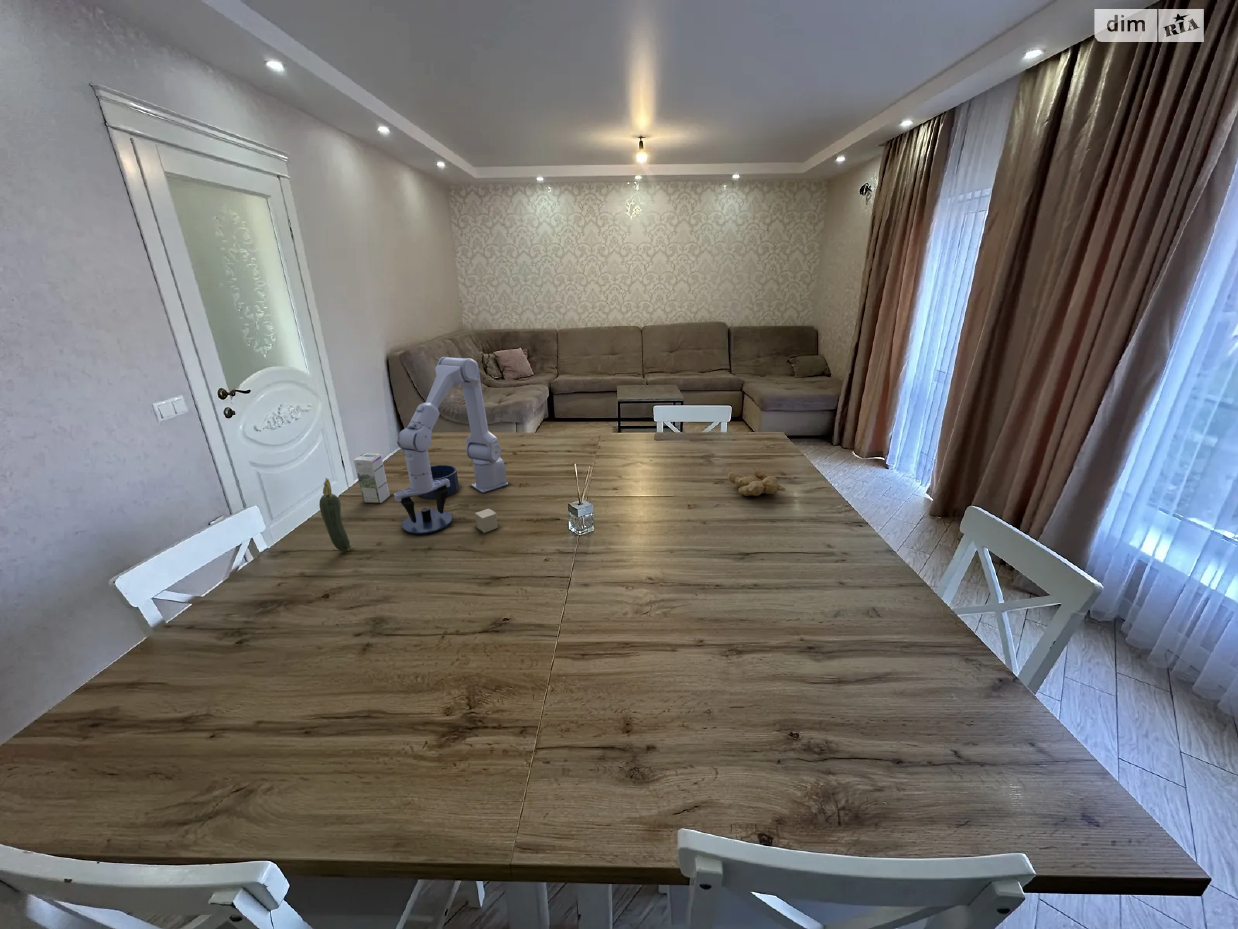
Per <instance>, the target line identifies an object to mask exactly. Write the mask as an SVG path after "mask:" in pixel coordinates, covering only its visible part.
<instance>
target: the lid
mask: <svg viewBox="0 0 1238 929" xmlns="http://www.w3.org/2000/svg"><path fill="white" fill-rule="evenodd" d="M415 516H416V523H413V522H412V521H411V519H410V516H407V517H406V518H405V519H404V520H403V521H402V524H401V528H402V530H403V531H404V532H406V533H408V534H414V535H424V534H431V533H436V532H438V531H440V530H443V529H444V528H446V527H448V526H449V525H450V524H452V521H453V515H452V514H451V513H450V512H449V511H446V510H444V511H443V513H442V514H441V513H439V512H438V509H431V507H423V508H421V509H420V511H419V512H415Z"/></svg>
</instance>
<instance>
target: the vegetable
mask: <svg viewBox="0 0 1238 929" xmlns="http://www.w3.org/2000/svg"><path fill="white" fill-rule="evenodd" d="M324 479H325V481H324V482H323V488H322V494H323V495H322V496H321V497H320V499H319V510H320V515H321V518H322V519H323V523H324V526H325V527H326V531H327V533H328V536H329V538H330V540H331V543H332V544H333V546H334V547H335V548H336V549H337V550H338V551H340V552H343V553H345V552H347V551H350V549H351V542H350V538H349V537H348V536H349V535H348V534H347V531H346V529H345V526H344V524H343V519H342V509H341V508H342V506H341V500H340V499H339V497H338V496H337V495H336V494H335V493H332V485H331V482H330V479H329V478H327V477H325V478H324Z"/></svg>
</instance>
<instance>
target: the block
mask: <svg viewBox="0 0 1238 929" xmlns="http://www.w3.org/2000/svg"><path fill="white" fill-rule="evenodd" d="M474 514H475V516H474V517H475V524H476V528H477V529H478V530H479V531H481V532H482V533H484V534H486V533H489V532H490V531H493V530H495V529H498V528H499V524H498V517H497V515H498V514H497V513H496V512H495V511H494V510H492V509H490V508H485V509H483V510H480V511H476V512H475V513H474Z"/></svg>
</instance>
